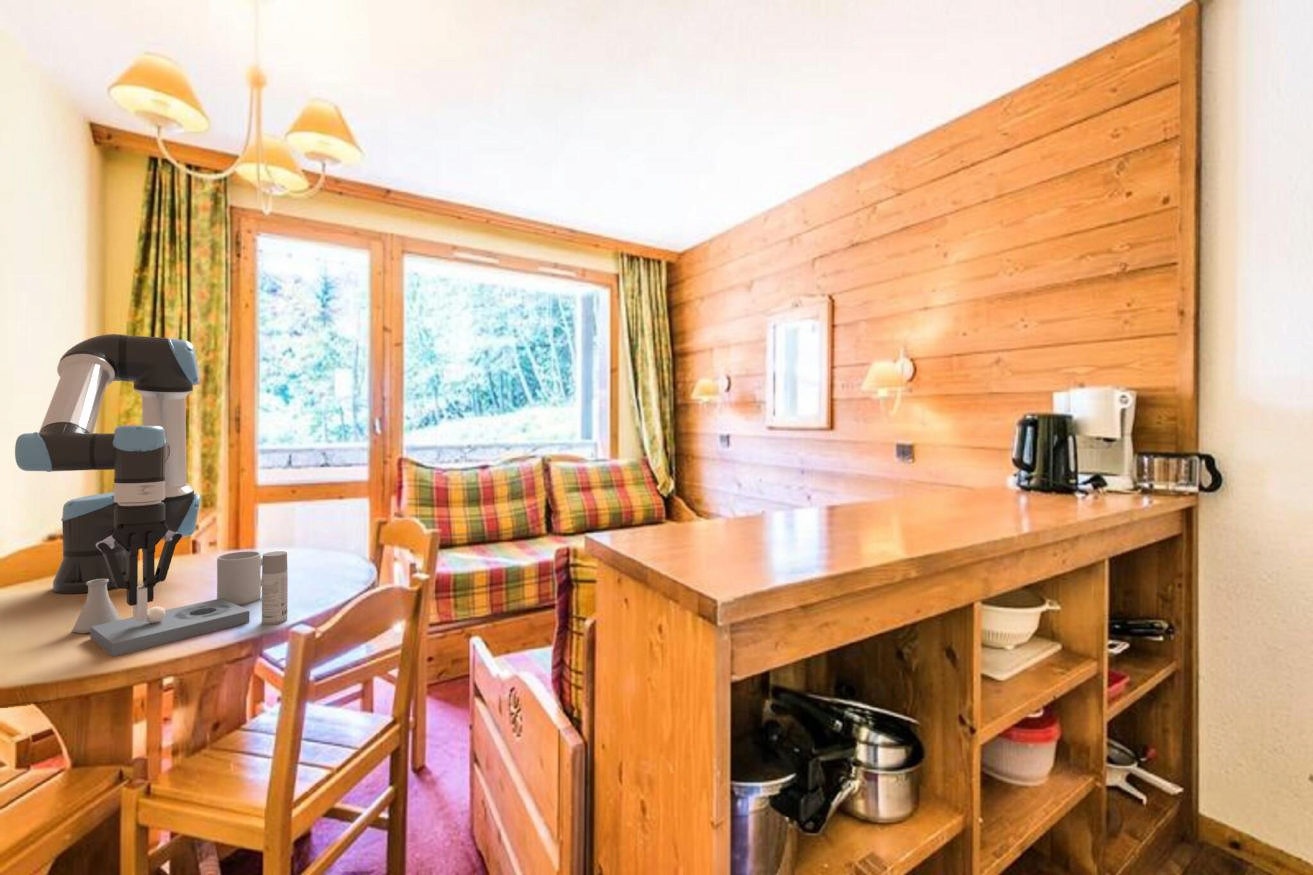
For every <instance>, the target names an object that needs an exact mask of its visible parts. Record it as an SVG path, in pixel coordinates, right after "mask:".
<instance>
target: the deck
mask: <svg viewBox="0 0 1313 875" xmlns="http://www.w3.org/2000/svg"><path fill="white" fill-rule="evenodd" d="M164 610H165V609H164ZM165 612H166V614H165V617H164V618H163V619H162V620H161V621H159V622H157V623H149V622H147V621H146V620H145V621H141V622H137V621H135V620H134V619H133V617H129V618H122V620H118V621H114V622H109V623H104V624H100V625H95V626H91V633H90V640H91V641H93V642H94V643H95V644H96V645H98V646H99V647H101V649H102V650H104V651H105V652H106V653H108V654H109V655H110V656H112V657H113V658H114V657H117V656H122V655H125V654H129V653H133V652H136V651H140V650H145V649H148V648H152V647H156V646H160V645H165V644H168V643H173V642H175V641H176V642H177V641H180V640H183V639H188V638H192V637H196V636H200V635H203V634H204V635H205V634H207V633H208V634H209V633H210V632H215V631H220V630H222V629H227V628H231V627H235V626H238V625H244V624H246V623H250V610H249V609H246V608H244V607H242V606H241V605H236V604H234V603H232V602H230V601H228V600H226V599H223V598H220V599H217V598H216V599H211V600H207V601H203V602H197V603H192V604H189V605H184V606H179V607H174V608H169V609H166V610H165Z"/></svg>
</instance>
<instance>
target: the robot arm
mask: <svg viewBox="0 0 1313 875" xmlns="http://www.w3.org/2000/svg"><path fill="white" fill-rule="evenodd" d="M197 361H198V360H197V356H196V351H195V347H194V345H193V344H192V343H191V342H190V341H187V340H184V339H177V338H171V337H159V336H158V337H157V336H143V335H141V336H140V335H129V334H128V335H126V334H120V333H119V334H118V333H109V334H101V335H97V336H94V337H91V338H88V339H85V340H83V341H81V342H79V343H77V344H75V345H73V346H72V347H71V348H69V349H68V350H67V351H66V352H65V353H64V354H63V355H62V356H61V358H60V359H59V362H58V365H57V368H56V369H57V370H56V372H57V374H58V376H59V379H58V383H57V386H56V387H55V390H54V392H53V394H52V395H53V396H52V398H51V401H50V403H49V406H48V408H47V411H46V414H45V416H44V418H43V422H42V424H41V426H40V429H39V432H37V431H35V432H31V433H29V432H28V433H22V434H20V435H19V436H17V438H16V442H15V446H14V457H15V463H16V465H17V467H18V468H19V469H20V470H22V471H24V472H47V473H50V472H70V471H71V472H74V471H102V470H103V471H104V470H105V471H108V470H110V471H112V470H114V471H113V472H114V479H113V492H103V493H98V494H92V495H86V496H82V497H77V498H73V499H69V500H67V501H66V502H65V503H64V505H63V506H62V517H61V519H60V521H61V525H62V560H61V561H60V565H59V567H58V570H57V572H56V574H55V576H54V579H53V581H52V591H53V592H54V593H58V594H82V593H88V585H86V582H88V581H91V580H96V579H109V582H107V590H110V589H115V588H117V589H119V590H121V589H122V590H126V603H127V605H128V606H131V607H133V608H132V609H133V611H132V612H133V613H132V614H133V615H132V616H133V619H134V620H135V621H137V622H141V621H145V620H147V610H148V603H151V602H153V601H154V597H155V596H154V593H155V592H154V587H155V586H156V585H157V584H159V583H160V582H161V583H162V582H164V581H166V578H167V575H168V572H169V569H170V566H171V563H172V558H173V555H174V552H175V550H176V547H177V544H178V543H179V542H180V540H181V539H182V538H186V537H190V536H192V535H193V534H195V532H196V528H197V520H198V516H199V515H198V514H199V508H200V503H201V494H200V493H199V494H198V493H195V488H194V487H193V486H192V485H191V484H189V483H188V482H187V481H188V475H187V474H188V473H187V472H188V470H187V423H186V422H187V421H186V420H187V419H186V409H187V408H186V399H187V398H186V397H187V396H189V395H190V394H191V393H192V392H193V391H194V390H193V389H194V387H193V386H197V385H199V384H200V373H199V365H198V362H197ZM113 382H129V383H130V382H131V383H133V390H134V391H135V392H136V393H137V394H140V395H141V409H142V413H141V414H142V425H141V424H139V425H137V424H136V425H133V424H132V425H129V424H128V425H118V426H117V427H116V428H115V429H114V430H113V431H114V432H113V433H94V431H95V427H96V424H97V421H98V420H97V419H98V416H99V413H100V409H101V406H102V402H103V398H104V396H105V391H106V388H107V387H108V386H110V385H111V384H112V383H113ZM161 540H164V544H163V546H162V550H161V554H160V556H159V559H158V564H157V566H156V565H155V555H156V554H155V553H156V546H157V545H158V544H159V542H161ZM139 550H141V551H142V552H141V553H142V583H143V585H139V584H138V583H139V582H138V580H139V578H138V577H139V576H138V575H139V571H138V570H139V569H138V568H139V566H138V565H139V563H138V562H139V559H138V558H139V554H140V552H139ZM155 566H156V568H155Z"/></svg>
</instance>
